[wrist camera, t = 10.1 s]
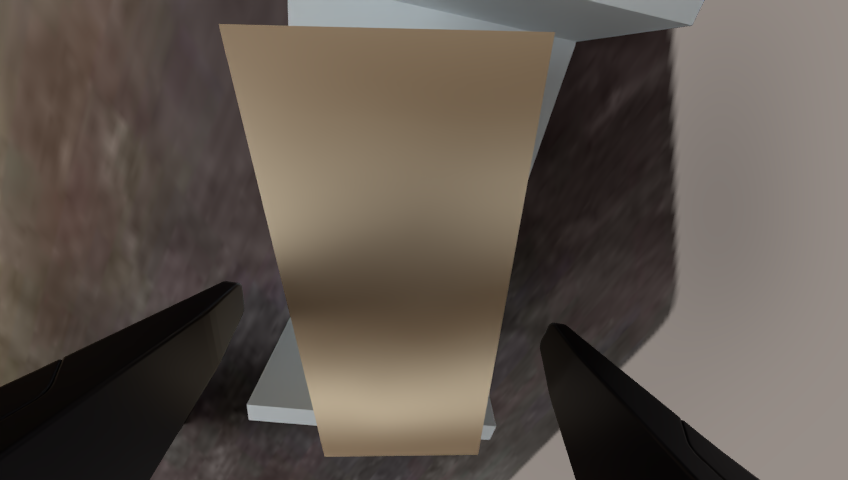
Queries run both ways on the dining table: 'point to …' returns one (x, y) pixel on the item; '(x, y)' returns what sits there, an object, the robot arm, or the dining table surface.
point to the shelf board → (392, 215)
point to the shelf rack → (458, 10)
